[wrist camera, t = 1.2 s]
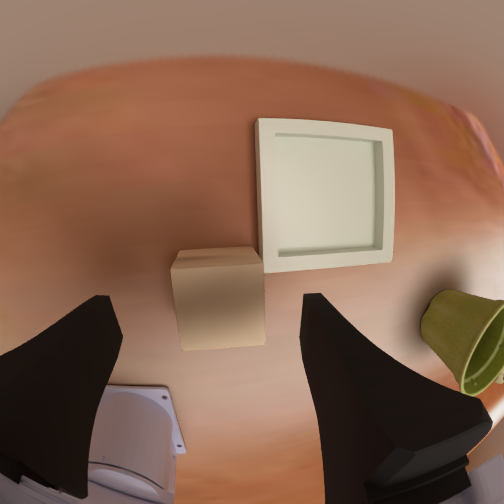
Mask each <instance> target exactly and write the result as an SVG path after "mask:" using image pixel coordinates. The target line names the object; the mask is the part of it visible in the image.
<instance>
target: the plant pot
mask: <svg viewBox="0 0 504 504" xmlns="http://www.w3.org/2000/svg"><path fill="white" fill-rule="evenodd" d="M421 336H422V338H423V340H424V341H425V342H426V343H427V344H428V345H429V346H430V347H431V349H432V350H433V351H434V352H435V353H436V354H437V355H438V356H439V358H440V359H441V360H442V361H443V362H444V363H445V365H446V366H447V367H448V368H449V369H450V370H451V372H452V373H453V374H454V377H455V379H456V381H457V382H458V384H459V389H460V392H461V393H464V394H467V395H470V396H476V395H478V394H479V393H481V392H482V391H484V390H485V389H486V388H487V387H488V386H489V385H490V384H491V383H492V382H493V381H494V380H495V379H496V377H497V376H498V375H499V374H500V372H501V371H502V370H503V368H504V300H496V301H494V300H490V299H486V298H483V297H479V296H475V295H471V294H467V293H463V292H460V291H456V290H452V289H446V290H443V291H441V292H440V293H438V294H437V295H436V296H435V297H434V298H433V299H432V300H431V302H430V306H429V308H428V310H427V311H426V312H425V313H424V315H423V317H422V321H421Z"/></svg>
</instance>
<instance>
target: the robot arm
mask: <svg viewBox="0 0 504 504" xmlns="http://www.w3.org/2000/svg"><path fill="white" fill-rule="evenodd" d="M299 338H300V345H301V353H302V360H303V364H304V368H305V372H306V376H307V379H308V383H309V387H310V391H311V394H312V398H313V402H314V406H315V410H316V414H317V419H318V426H319V433H320V441H321V450H322V459H323V471H324V485H325V504H504V459H503V457H502V455H501V454H497V455H496V456H494V457H493V458H491V459H490V460H488V461H486V462H485V463H483V464H482V465H480V466H478V467H476V468H475V469H473V470H472V471H470V472H469V473H467V472H466V470H465V466H467V465H468V464H469V460H468V458H467V455H466V454H467V453H468V452H469V451H470V450H472V449H473V448H474V447H475V446H476V445H477V444H478V443H479V442H480V441H481V440H482V439H483V438H484V437H485V436H486V435H487V434H488V432H489V431H490V429H491V427H492V423H493V421H492V420H491V418H490V416H489V414H488V412H487V410H486V408H485V407H484V405H483V403H482V401H481V400H480V399H479V398H476V397H473V396H470V395H467V394H464V393H461V392H458V391H455V390H452V389H450V388H447V387H445V386H443V385H440V384H438V383H436V382H434V381H432V380H430V379H428V378H426V377H424V376H422V375H420V374H418V373H416V372H415V371H413V370H411V369H409V368H408V367H406V366H404V365H403V364H401V363H400V362H398V361H397V360H395V359H394V358H392V357H391V356H389V355H388V354H387V353H385V352H384V351H382V350H381V349H380V348H378V347H377V346H376V345H375V344H373V343H372V342H371V341H370V340H369V339H367V338H366V337H365V336H364V335H363V334H361V333H360V332H359V331H358V330H357V329H356V328H355V327H354V326H353V325H352V324H351V323H350V322H349V321H348V320H346V319H345V318H344V317H343V316H342V315H341V313H340V312H339V311H338V310H337V309H336V308H335V307H334V306H333V305H332V304H331V303H330V302H329V301H328V300H327V299H326V298H325V297H324V296H323V295H322V294H321V293H310V294H304V295H303V306H302V317H301V327H300V336H299ZM122 339H123V335H122V332H121V329H120V326H119V324H118V321H117V318H116V315H115V312H114V309H113V306H112V303H111V300H110V297H109V296H104V295H96V296H94V297H92V298H90V299H89V300H87V301H86V302H84V303H83V304H81V305H80V306H78V307H77V308H75V309H74V310H73V311H71V312H70V313H68V314H67V315H66V316H64V317H63V318H62V319H60V320H59V321H57V322H56V323H55V324H53V325H52V326H50V327H49V328H47V329H46V330H44V331H43V332H41V333H40V334H38V335H37V336H35V337H34V338H32V339H31V340H29V341H27V342H26V343H24V344H22V345H20V346H19V347H17V348H15V349H13V350H11V351H9V352H7V353H5V354H3V355H1V356H0V504H174V494H175V476H176V457H177V454H184V453H186V447H185V444H184V441H183V437H182V434H181V431H180V427H179V424H178V421H177V417H176V414H175V410H174V406H173V403H172V399H171V395H170V391H169V389H168V388H166V387H138V386H114V385H107V383H108V380H109V378H110V375H111V373H112V370H113V368H114V365H115V363H116V360H117V358H118V354H119V351H120V347H121V343H122ZM164 396H167V397H164ZM179 444H180V445H179Z"/></svg>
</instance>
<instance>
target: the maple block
mask: <svg viewBox="0 0 504 504" xmlns="http://www.w3.org/2000/svg"><path fill="white" fill-rule="evenodd" d="M170 272H171V281H172V289H173V297H174V304H175V311H176V318H177V325H178V331H179V338H180V344H181V350H182V351H184V350H204V349H219V348H232V347H243V346H254V345H263V344H266V337H265V289H264V263H263V261H262V260H261V259H260V257H259V256H258V254H257V253H256V252H255V250H254V249H253V247H252V246H239V247H223V248H207V249H192V250H180V251H179V253H178V255H177V257H176V259H175V261H174V263H173V265H172V267H171V269H170Z"/></svg>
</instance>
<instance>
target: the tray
mask: <svg viewBox="0 0 504 504" xmlns="http://www.w3.org/2000/svg"><path fill="white" fill-rule="evenodd" d="M254 127H255V154H256V182H257V211H258V243H259V257H260V259H261V260H262V261H263V263H264V273H274V272H287V271H299V270H311V269H322V268H333V267H344V266H355V265H365V264H376V263H385V262H392V255H393V239H394V214H395V175H394V150H393V135H392V130H391V129H385V128H378V127H372V126H364V125H357V124H348V123H339V122H329V121H316V120H301V119H278V118H258V120H257V121H256V123H255V124H254Z"/></svg>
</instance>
